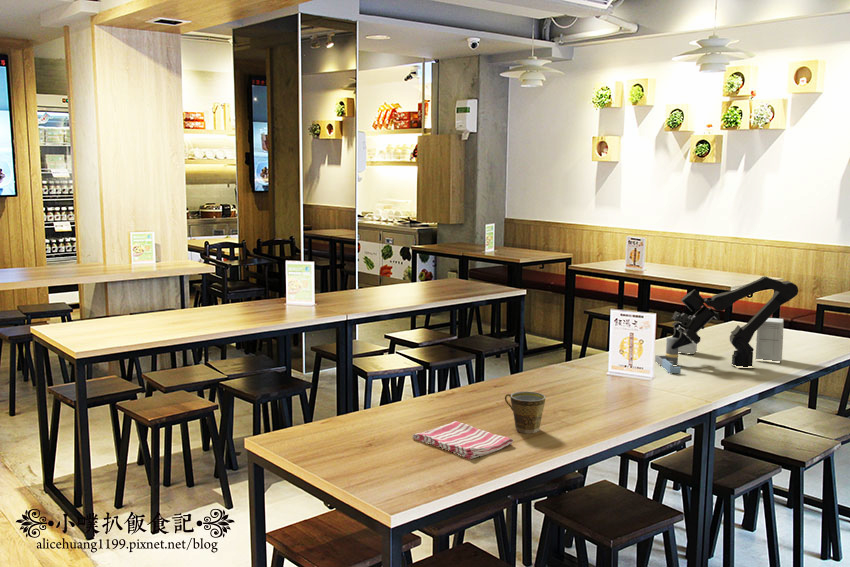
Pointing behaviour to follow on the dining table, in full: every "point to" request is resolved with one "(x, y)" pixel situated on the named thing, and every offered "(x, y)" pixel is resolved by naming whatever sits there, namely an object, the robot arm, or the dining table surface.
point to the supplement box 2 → (770, 340)
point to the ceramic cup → (527, 410)
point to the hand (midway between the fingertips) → (670, 347)
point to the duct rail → (667, 364)
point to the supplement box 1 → (688, 348)
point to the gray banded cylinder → (671, 351)
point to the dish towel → (464, 439)
